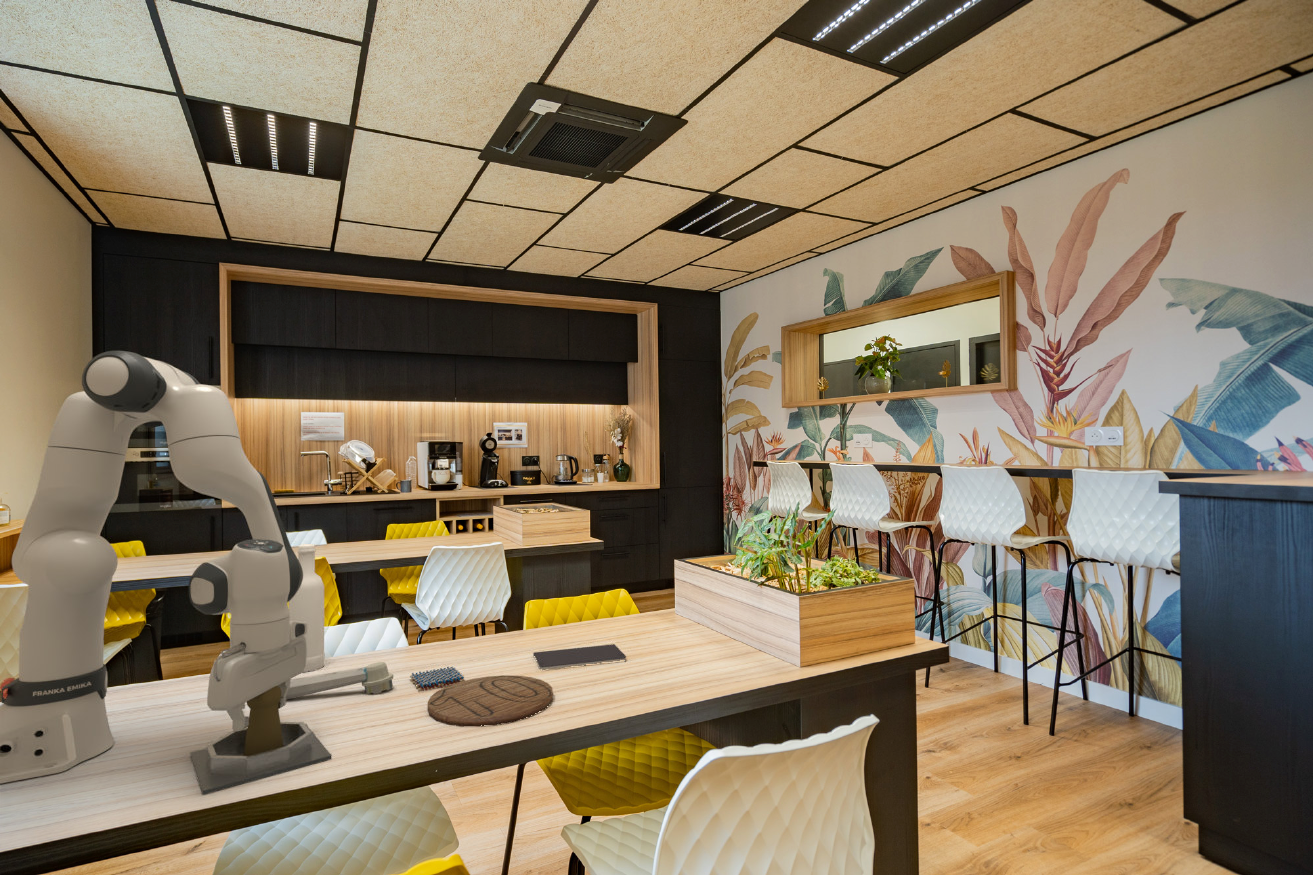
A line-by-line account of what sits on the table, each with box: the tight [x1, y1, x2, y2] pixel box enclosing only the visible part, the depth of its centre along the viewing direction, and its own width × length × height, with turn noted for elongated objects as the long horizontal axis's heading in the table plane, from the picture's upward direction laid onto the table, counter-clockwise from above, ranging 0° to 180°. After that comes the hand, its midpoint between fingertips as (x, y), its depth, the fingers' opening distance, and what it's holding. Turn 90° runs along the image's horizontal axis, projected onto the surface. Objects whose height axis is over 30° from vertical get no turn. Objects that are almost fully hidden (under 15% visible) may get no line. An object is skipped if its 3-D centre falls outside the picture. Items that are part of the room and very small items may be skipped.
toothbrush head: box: [286, 661, 395, 701], centre depth 143 cm, size 5×7×25 cm
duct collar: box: [189, 721, 332, 796], centre depth 113 cm, size 18×18×3 cm
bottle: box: [288, 543, 326, 673], centre depth 164 cm, size 8×8×30 cm
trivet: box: [427, 675, 554, 727], centre depth 137 cm, size 25×25×2 cm
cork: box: [243, 686, 284, 756], centre depth 114 cm, size 6×6×11 cm
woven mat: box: [409, 666, 466, 692], centre depth 151 cm, size 10×11×2 cm
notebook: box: [532, 643, 627, 671], centre depth 167 cm, size 13×2×21 cm
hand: (260, 717), depth 113 cm, fingers open, 8 cm apart
